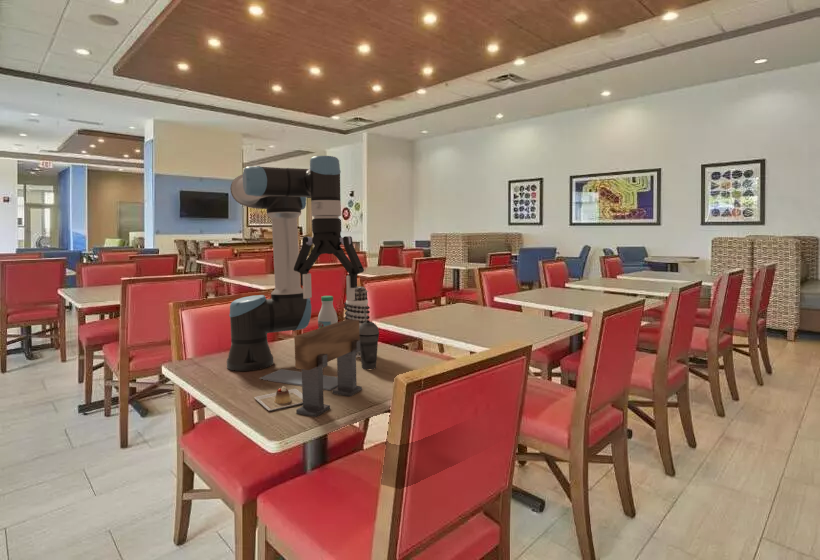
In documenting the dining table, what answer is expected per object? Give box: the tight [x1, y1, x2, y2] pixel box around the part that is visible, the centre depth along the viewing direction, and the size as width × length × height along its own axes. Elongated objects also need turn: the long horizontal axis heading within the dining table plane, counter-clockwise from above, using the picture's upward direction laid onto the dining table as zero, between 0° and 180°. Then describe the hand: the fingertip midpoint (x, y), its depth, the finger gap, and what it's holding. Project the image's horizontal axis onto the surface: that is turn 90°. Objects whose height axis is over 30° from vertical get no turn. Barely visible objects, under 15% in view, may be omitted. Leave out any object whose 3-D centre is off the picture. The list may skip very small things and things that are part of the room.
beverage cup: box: [359, 308, 380, 370], centre depth 159 cm, size 7×7×20 cm
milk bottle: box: [317, 295, 339, 329], centre depth 188 cm, size 8×8×20 cm
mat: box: [259, 368, 338, 391], centre depth 148 cm, size 26×10×1 cm, turn 65°
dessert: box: [253, 385, 303, 412], centre depth 130 cm, size 12×12×5 cm
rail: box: [294, 319, 360, 370], centre depth 128 cm, size 4×24×8 cm, turn 155°
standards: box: [295, 340, 363, 418], centre depth 129 cm, size 8×22×15 cm, turn 155°
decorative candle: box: [344, 285, 371, 357], centre depth 176 cm, size 9×9×25 cm
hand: (328, 299), depth 127 cm, fingers open, 13 cm apart
